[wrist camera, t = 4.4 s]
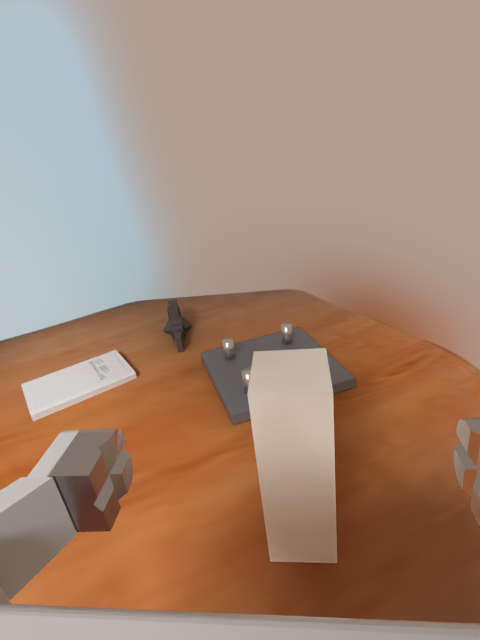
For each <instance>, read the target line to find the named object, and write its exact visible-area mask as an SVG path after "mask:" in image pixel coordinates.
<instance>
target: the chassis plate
mask: <svg viewBox="0 0 480 640" xmlns="http://www.w3.org/2000/svg"><path fill="white" fill-rule="evenodd" d="M222 346H223V347H220V348H216V349H212V350H209V351H205V352H201V358H202V362H203V364H204V366H205V368H206V370H207V372H208V374H209V376H210V378H211V380H212V382H213V384H214V386H215V389H216V391H217V393H218V395H219V397H220V399H221V401H222V403H223V405H224V407H225V409H226V411H227V413H228V416H229V418H230V420H231V422H232V424H233V425H235V424H238V423H242V422H245V421H248V420H251V418H250V410H249V403H248V395H247V393H248V387H249V380H250V373H251V366H252V360H253V353H254V351H274V350H294V349H315V348H322V347H321V346H320V345H318V344H317V343H316V342H315V341H314V340H313V339H312V338H311V337H310V336H308V335H307V334H306V333H305V332H304V331H303V330H302V329H301V328H300V327H296V328H293V329H292V324H291V323H289V322H284V323H282V324H281V332H277V333H274V334H270V335H266V336H262V337H258V338H254V339H251V340H247V341H243V342H239V343H235V344H234V342H233V338H231V337H226V338H223V339H222ZM327 358H328V364H329V370H330V376H331V382H332V388H333V394H335V393H338V392H341V391H345V390H348V389H351V388H354V387H355V377H354V376H353V375H352V374H350V373H349V372H348V371H347V370H346V369H345V368H344V367H343V366H342V365H341V364H339V363H338V362H337V361H336V360H335V359H334V358H333V357H332V356H331V355H329V354H328V353H327Z"/></svg>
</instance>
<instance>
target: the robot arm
mask: <svg viewBox="0 0 480 640" xmlns="http://www.w3.org/2000/svg"><path fill="white" fill-rule="evenodd" d="M456 434H457V435H458V437H459V439H460V441H461V442H460V443H459V444H458V445H457V446H456V447H455V448H454V458H453V460H454V468H455V474H456V477H457V480H458V483H459V485H460V487H461V489H462V491H463V492H465V493H466V494H467V495H469V496H470V497H471V498H472V499H471V506H470V508H471V511H472V513H473V515H474V517H475V519H476V521H477V523H478V525H479V527H480V418H470V419H460V420H459V422H458V424H457V430H456ZM125 442H126V440H125V438H124V435H123V432H122V431H120V430H118V429H112V430H65V431H63V432H61V433H60V434H59V435H58V436H57V438H56V439H55V440H54V442H53V443H52V444H51V446H50V447H49V448H48V450H47V451H46V452H45V454H44V455H43V456H42V458H41V459H40V460H39V462H38V463H37V464H36V466H35V467H34V468H33V470H32V471H31V472H30V474H29V475H28V476H27V477H22V478H20V479H18V480H16V481H15V482H13V483H12V484H10V485H9V486H7V487H5V488H4V489H2V490H1V491H0V640H480V623H459V622H434V621H408V620H383V619H358V618H332V617H308V616H284V615H260V614H237V613H213V612H189V611H166V610H141V609H117V608H93V607H69V606H44V605H20V604H11V602H10V600H11V599H12V598H13V597H14V596H15V595H16V594H17V593H18V592H19V591H20V590H21V589H22V588H23V587H24V586H25V585H26V584H27V583H28V582H29V581H30V580H31V579H32V578H33V577H34V576H35V575H36V574H37V573H38V572H39V571H40V570H41V569H42V568H43V567H44V566H45V565H46V564H47V563H48V562H49V561H51V560H52V559H53V558H54V557H55V556H56V555H57V554H58V553H59V552H60V551H61V550H62V549H63V548H64V547H65V546H66V545H67V544H68V543H69V542H70V541H71V540H72V539H73V538H74V537H75V536H76V535H77V532H107V531H111V529H112V527H113V524H114V522H115V520H116V518H117V515H118V513H119V511H120V509H121V506H120V504H119V501H118V500H119V499H120V498H122V497H123V496H124V495H125V494H126V493H128V490H129V488H130V485H131V483H132V476H133V463H132V459H131V456H130V454H129V453H127V452H126V451H125V450H124V449H123V446H124V444H125Z"/></svg>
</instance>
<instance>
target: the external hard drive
mask: <svg viewBox="0 0 480 640" xmlns="http://www.w3.org/2000/svg"><path fill="white" fill-rule="evenodd" d="M135 378H137V376H136V372H135V371H134V370H133V368H132V367H131V366H130V365H129V364H128V363H127V362H126V361H125V359H124V358H123V357H122V356H121V355H120V354H119V352H118V351H117V350H113V351H110V352H108V353H105V354H102V355H100V356H97V357H94V358H91V359H89V360H86V361H83V362H80V363H78V364H75V365H72V366H69V367H67V368H64V369H61V370H59V371H56V372H53V373H50V374H48V375H45V376H42V377H40V378H37V379H34V380H31V381H29V382H26V383H23V384H21V386H22V389H23V393H24V396H25V399H26V402H27V406H28V409H29V412H30V415H31V417H32V420H33V421H35V420H38V419H40V418H42V417H45V416H47V415H50V414H52V413H54V412H57V411H59V410H62V409H64V408H66V407H69V406H71V405H73V404H76V403H78V402H81V401H83V400H85V399H88V398H90V397H93V396H95V395H97V394H100V393H102V392H105V391H107V390H109V389H112V388H114V387H116V386H119V385H121V384H124V383H126V382H128V381H131V380H133V379H135Z"/></svg>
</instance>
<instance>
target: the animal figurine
mask: <svg viewBox="0 0 480 640" xmlns="http://www.w3.org/2000/svg"><path fill="white" fill-rule="evenodd" d="M168 303H169V306H168V317H169V320H168V322H167V324H166V326H165V328H164V330H163V331H164V332H166V333H172V338H173V340H174V341H175V342H176V343H177V348H178V352H183V351H184V349H183V343H182V340H184V339H185V338H184V336H185V334H184V331H185V330H187V329H189V328H190V327H191V326H192V325H191V324H190V323H189V322H188V321H186V320H185V319H184V318H183V317H182V316H181V313H180V308H179V305H178V304H177V300H174V301H168Z"/></svg>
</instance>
